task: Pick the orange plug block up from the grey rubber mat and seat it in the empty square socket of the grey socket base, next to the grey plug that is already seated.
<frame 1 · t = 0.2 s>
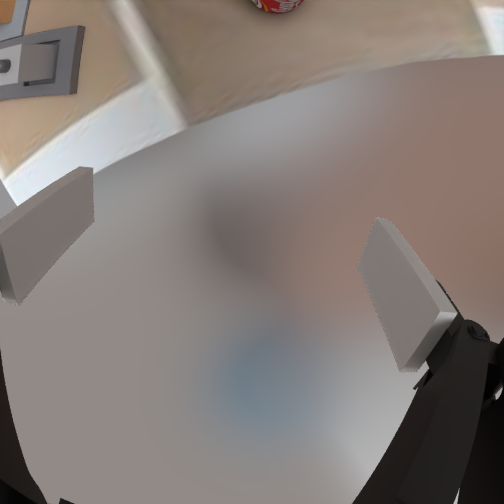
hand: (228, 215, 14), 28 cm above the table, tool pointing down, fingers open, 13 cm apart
grey socket base: (21, 67, 31), on the table
mat: (7, 11, 25), on the table
plug: (4, 11, 25), point 1 cm above the table, touching mat
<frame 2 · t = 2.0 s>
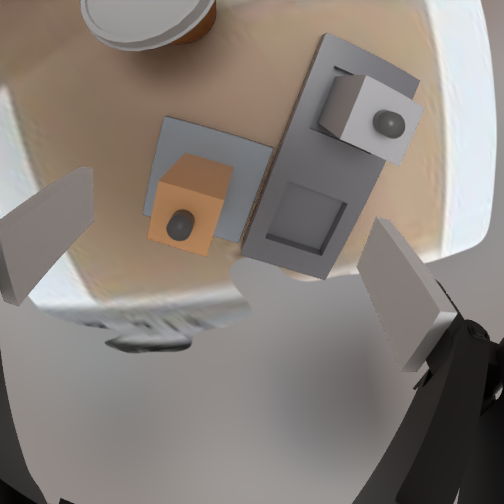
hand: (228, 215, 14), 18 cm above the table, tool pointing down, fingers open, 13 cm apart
disposable coffee cup: (183, 15, 23), on the table
grey socket base: (326, 162, 30), on the table
mat: (203, 180, 31), on the table
plug: (202, 182, 31), point 1 cm above the table, touching mat
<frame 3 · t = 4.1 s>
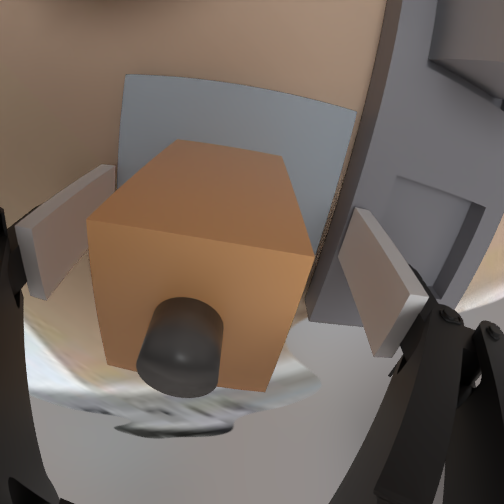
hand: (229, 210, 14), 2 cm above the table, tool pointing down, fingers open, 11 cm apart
grey socket base: (443, 134, 14), on the table
mat: (222, 191, 16), on the table
plug: (221, 195, 15), point 1 cm above the table, touching mat
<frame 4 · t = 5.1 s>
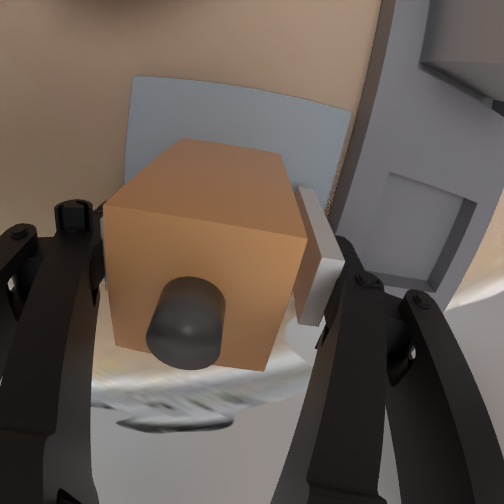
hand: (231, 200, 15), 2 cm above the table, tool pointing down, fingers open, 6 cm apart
grey socket base: (435, 133, 15), on the table
mat: (224, 187, 17), on the table
plug: (223, 191, 16), point 1 cm above the table, touching gripper, mat
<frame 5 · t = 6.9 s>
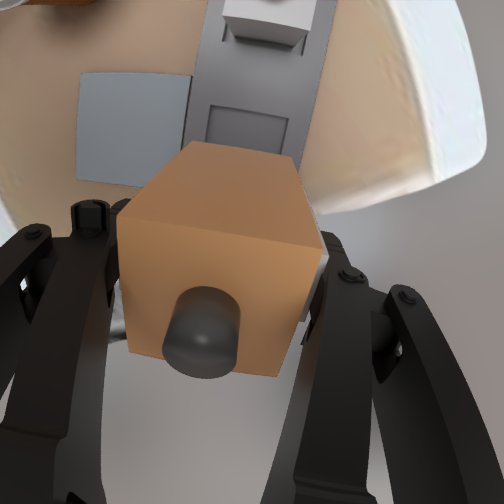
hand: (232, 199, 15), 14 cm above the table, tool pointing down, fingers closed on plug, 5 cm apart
grey socket base: (256, 79, 24), on the table
mat: (128, 129, 26), on the table
plug: (233, 194, 16), point 13 cm above the table, touching gripper
when the fingers open (3 cm above the table, at t = 8.7 s): plug drops 1 cm, resting on grey socket base.
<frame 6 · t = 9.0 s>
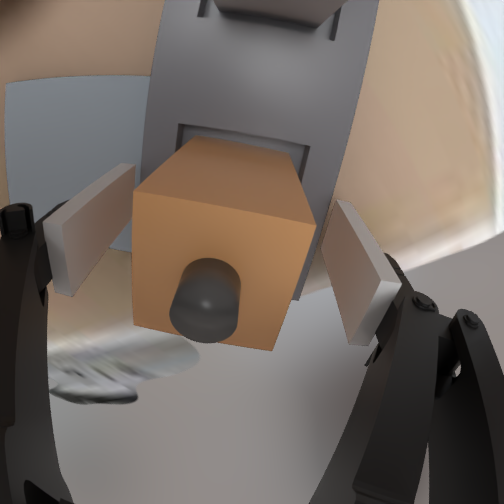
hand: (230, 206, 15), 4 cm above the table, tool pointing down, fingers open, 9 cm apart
grey socket base: (255, 79, 15), on the table
mat: (67, 160, 17), on the table
plug: (233, 186, 17), point 1 cm above the table, touching grey socket base
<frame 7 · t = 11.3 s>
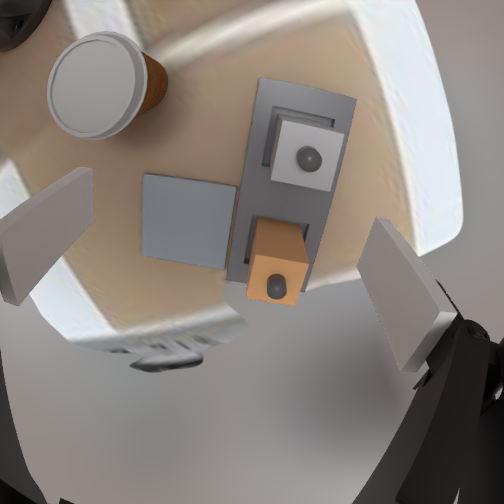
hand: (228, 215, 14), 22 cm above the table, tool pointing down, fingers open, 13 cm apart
disposable coffee cup: (142, 84, 30), on the table
grey socket base: (285, 190, 35), on the table
mat: (185, 221, 38), on the table
plug: (274, 239, 38), point 1 cm above the table, touching grey socket base
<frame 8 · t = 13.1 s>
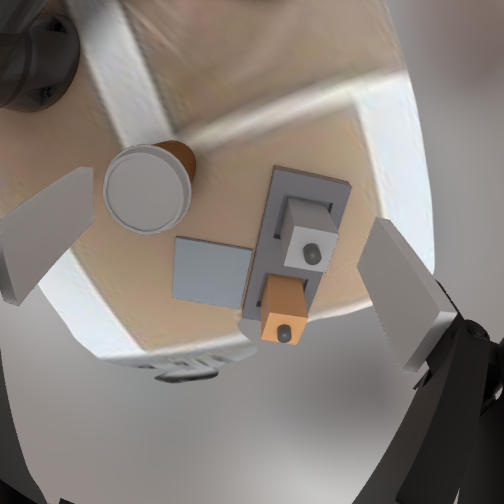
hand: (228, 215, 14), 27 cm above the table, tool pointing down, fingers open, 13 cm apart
disposable coffee cup: (172, 163, 39), on the table
grey socket base: (290, 252, 45), on the table
mat: (209, 273, 47), on the table
plug: (280, 288, 48), point 1 cm above the table, touching grey socket base
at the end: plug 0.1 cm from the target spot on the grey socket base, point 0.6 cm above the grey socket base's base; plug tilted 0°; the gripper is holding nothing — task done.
